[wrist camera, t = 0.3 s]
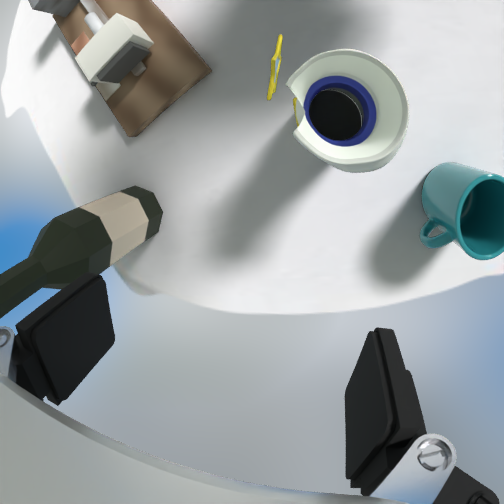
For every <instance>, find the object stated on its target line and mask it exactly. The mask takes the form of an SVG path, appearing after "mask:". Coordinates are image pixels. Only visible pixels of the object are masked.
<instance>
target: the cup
mask: <svg viewBox="0 0 504 504" xmlns="http://www.w3.org/2000/svg"><path fill="white" fill-rule="evenodd" d="M422 205H423V209H424V211H425V214H426V216H427V217H428V219H429V220H428V221H427V222H426V223H425V224H424V225H423V227H422V229H421V231H420V240H421V242H422V244H423V245H424V246H426V247H427V248H439V247H442V246H445V245H447V244H449V243H450V242H452V241H453V242H454V243H455V244H457V245H458V246H459V247H460V248H461V249H462V250H463V251H464V252H465V253H467V254H468V255H469V256H471V257H472V258H475V259H478V260H489V259H492V258H495V257H497V256H498V255H500V254H501V253H503V252H504V177H502V176H500V175H497V174H494V173H491V172H487V171H484V170H481V169H477V168H474V167H470V166H467V165H463V164H459V163H455V162H446V163H443V164H440V165H438V166H436V167H435V168H434V169H433V170H432V171H431V172H430V173H429V174H428V176H427V178H426V179H425V182H424V184H423V188H422ZM436 227H437V228H438V229H440V230H441V231H442V232H443V233H442V234H440V235H438V236H435V237H429V235H430V233H431V232H432V231H433V230H434V229H435V228H436Z"/></svg>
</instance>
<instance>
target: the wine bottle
mask: <svg viewBox="0 0 504 504" xmlns="http://www.w3.org/2000/svg"><path fill="white" fill-rule="evenodd" d="M162 214H163V211H162V209H161V207H160V205H159V203H158V201H157V199H156V197H155V195H154V193H153V192H150V191H148V190H145V189H143V188H140V187H137V186H133V187H130V188H127V189H125V190H122V191H119V192H116V193H114V194H111V195H108V196H106V197H103V198H101V199H98V200H96V201H93V202H91V203H88V204H86V205H83V206H81V207H78V208H76V209H73V210H71V211H69V212H67V213H64V214H62V215H59V216H57V217H55V218H53V219H52V220H51V221H50V222H49V223H48V224H47V225H46V226H44V227H43V228H42V229H41V231H40V233H39V235H38V237H37V239H36V241H35V243H34V245H33V248H32V250H31V252H30V255H29V257H28V258H27V259H25V260H23V261H22V262H20V263H18V264H17V265H15V266H13V267H12V268H10V269H8V270H7V271H5V272H4V273H2V274H0V318H2V317H3V316H4V315H5V314H7V313H8V312H9V311H11V310H12V309H13V308H15V307H16V306H17V305H19V304H20V303H21V302H23V301H24V300H26V299H27V298H28V297H29V296H31V295H32V294H33V293H35V292H37V291H38V290H39V289H41V288H42V287H43V288H53V289H63V288H65V287H66V286H67V285H69V284H70V283H72V282H73V281H74V280H76V279H77V278H79V277H80V276H81V275H83V274H84V273H86V272H92V273H95V274H100V273H102V272H103V271H104V270H105V269H107V268H108V267H110V266H111V265H112V264H114V263H115V262H117V261H118V260H119V259H121V258H122V257H123V256H125V255H126V254H128V253H129V252H130V251H132V250H133V249H135V248H136V247H137V246H139V245H140V244H142V243H143V242H144V241H146V240H147V239H149V238H150V237H152V236H153V235H154V234H156V233H157V232H158V231H159V227H160V223H161V218H162Z"/></svg>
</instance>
